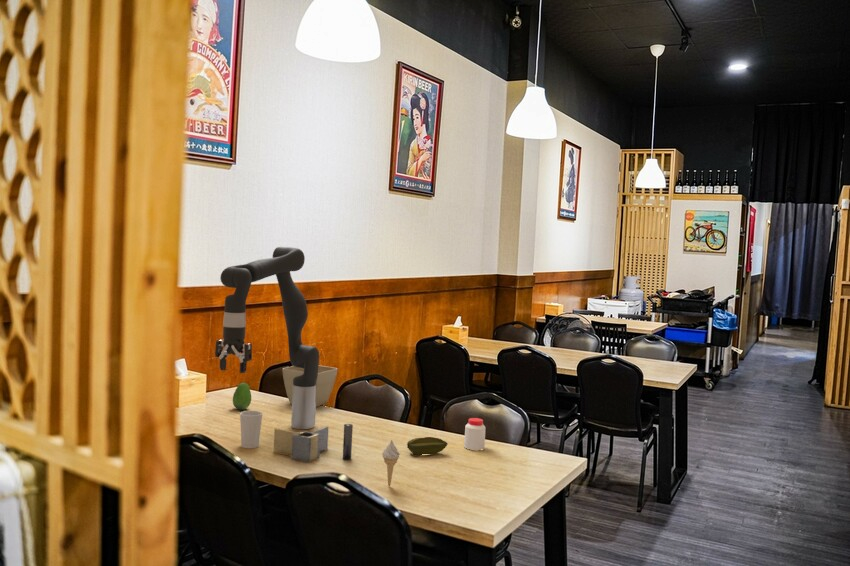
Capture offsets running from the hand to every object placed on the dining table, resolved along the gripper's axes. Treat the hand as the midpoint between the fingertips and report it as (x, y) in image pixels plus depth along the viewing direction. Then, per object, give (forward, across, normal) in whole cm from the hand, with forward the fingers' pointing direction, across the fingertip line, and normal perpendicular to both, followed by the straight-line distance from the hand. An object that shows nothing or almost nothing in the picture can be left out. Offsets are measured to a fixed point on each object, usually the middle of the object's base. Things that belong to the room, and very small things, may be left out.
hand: (232, 371), depth 244 cm
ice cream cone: (+29, -62, -2) cm, 69 cm away
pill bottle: (+29, -69, -58) cm, 95 cm away
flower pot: (+30, +22, -80) cm, 88 cm away
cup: (+29, +1, -12) cm, 32 cm away
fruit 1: (+30, +39, -52) cm, 72 cm away
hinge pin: (+29, -36, -19) cm, 50 cm away
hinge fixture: (+29, -19, -16) cm, 38 cm away
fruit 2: (+30, -57, -40) cm, 76 cm away
